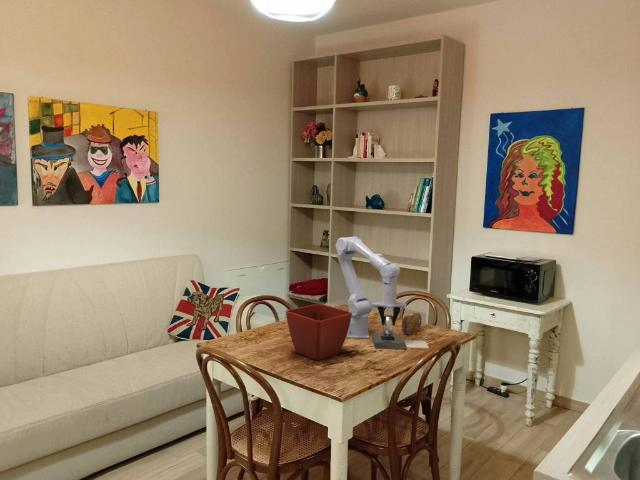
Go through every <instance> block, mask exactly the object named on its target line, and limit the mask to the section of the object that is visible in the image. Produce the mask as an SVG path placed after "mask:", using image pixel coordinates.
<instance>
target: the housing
mask: <svg viewBox="0 0 640 480" xmlns="http://www.w3.org/2000/svg"><path fill="white" fill-rule="evenodd" d="M371 341H372V344H373V345H372V346H373V347H374V348H373V349H381V350H383V349H384V350H385V349H386V350H388V349H389V350H404V349H405V343H404V339H403V337H402V335H401V334H400V333H398V334H397V333H393V336H384V335H383V333H372V334H371Z"/></svg>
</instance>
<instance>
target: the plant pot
mask: <svg viewBox="0 0 640 480" xmlns="http://www.w3.org/2000/svg"><path fill="white" fill-rule="evenodd" d="M285 313H286V314H285V315H286V322H287V327H288V330H289V335H290V338H291V342H292V345H293V348H294V350H295V352H296V353H297V354H300V355H302V356H305V357H308V358H310V359H312V360H316V361H320V360H324V359H327V358H329V357H334V356H336V355H339V354H340V353H341V351H342V349H343V346H344V343H345V341H346V338H347V333H348V329H349V326H350V322H351V317H352V313H351V312H349V310H348V311H347V310H344V309H340V308H336V307H333V306H330V305H326V304H322V303H316V304H310V305H306V306H302V307H297V308H292V309H288V310H285Z"/></svg>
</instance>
